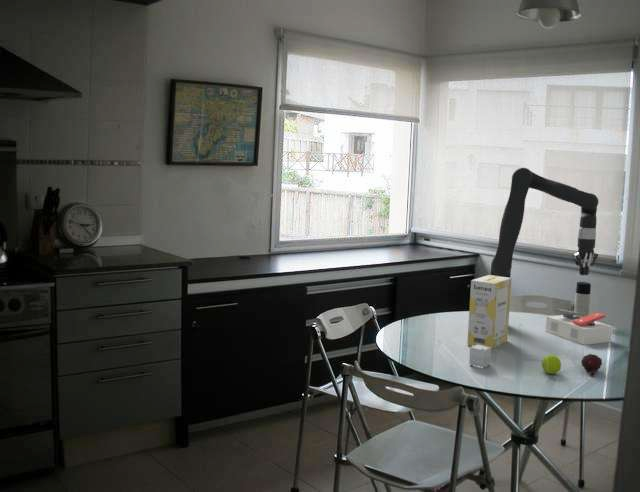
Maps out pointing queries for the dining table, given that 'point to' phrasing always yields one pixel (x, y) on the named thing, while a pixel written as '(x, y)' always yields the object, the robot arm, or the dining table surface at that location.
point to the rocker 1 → (569, 312)
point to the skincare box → (480, 355)
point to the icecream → (591, 363)
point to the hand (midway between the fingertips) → (583, 274)
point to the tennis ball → (551, 364)
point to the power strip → (578, 330)
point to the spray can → (582, 298)
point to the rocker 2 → (589, 319)
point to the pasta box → (489, 311)
